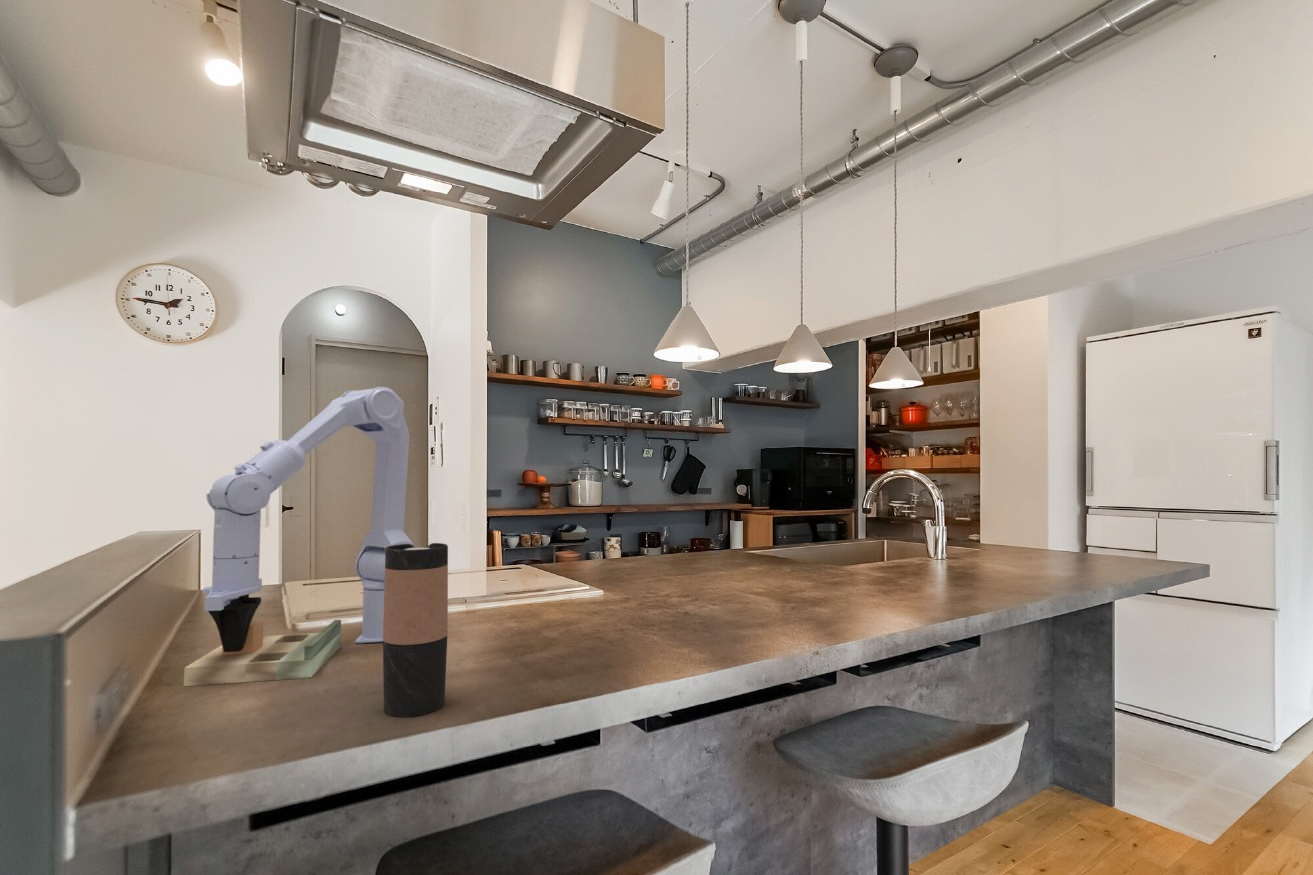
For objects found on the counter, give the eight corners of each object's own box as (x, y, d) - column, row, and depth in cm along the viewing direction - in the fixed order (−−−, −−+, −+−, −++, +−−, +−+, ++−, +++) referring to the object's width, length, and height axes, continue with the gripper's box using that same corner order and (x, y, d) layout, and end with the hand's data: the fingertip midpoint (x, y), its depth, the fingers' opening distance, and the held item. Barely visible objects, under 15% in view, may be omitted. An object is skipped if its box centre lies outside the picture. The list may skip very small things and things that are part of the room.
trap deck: (340, 646, 106) (341, 619, 107) (311, 677, 91) (312, 645, 91) (233, 653, 103) (234, 625, 103) (183, 686, 87) (184, 653, 87)
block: (262, 646, 98) (263, 619, 98) (252, 653, 94) (253, 625, 94) (233, 647, 97) (234, 621, 97) (222, 655, 93) (223, 627, 93)
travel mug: (407, 723, 75) (410, 551, 76) (368, 710, 79) (371, 547, 80) (459, 702, 81) (461, 544, 82) (420, 691, 85) (422, 541, 86)
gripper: (227, 551, 99) (224, 639, 98) (180, 564, 85) (176, 667, 84) (277, 549, 101) (274, 636, 100) (239, 562, 87) (236, 663, 86)
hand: (233, 650), depth 92 cm, fingers closed
